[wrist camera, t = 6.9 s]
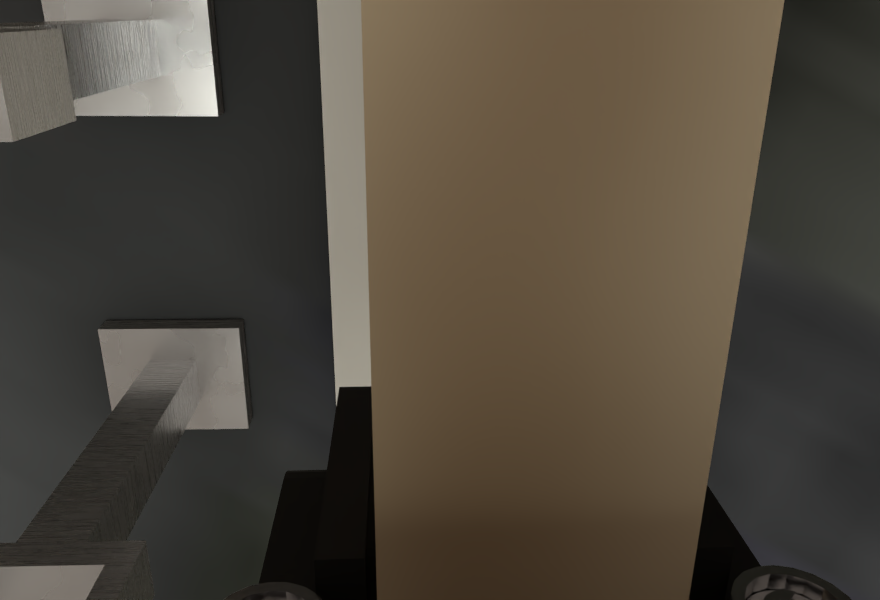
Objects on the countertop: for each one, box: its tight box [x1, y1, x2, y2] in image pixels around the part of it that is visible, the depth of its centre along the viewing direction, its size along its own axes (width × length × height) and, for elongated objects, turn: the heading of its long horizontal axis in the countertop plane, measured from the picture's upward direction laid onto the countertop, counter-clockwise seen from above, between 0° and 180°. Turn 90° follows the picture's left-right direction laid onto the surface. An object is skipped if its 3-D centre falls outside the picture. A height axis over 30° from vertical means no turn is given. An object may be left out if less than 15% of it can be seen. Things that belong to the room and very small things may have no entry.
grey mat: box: [317, 0, 371, 406], centre depth 31 cm, size 10×24×1 cm, turn 179°
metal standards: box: [0, 0, 253, 600], centre depth 24 cm, size 6×19×16 cm, turn 0°
